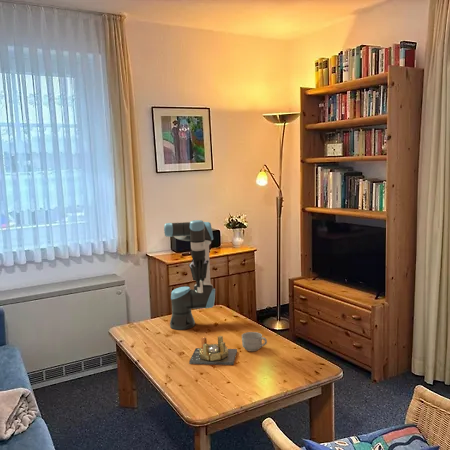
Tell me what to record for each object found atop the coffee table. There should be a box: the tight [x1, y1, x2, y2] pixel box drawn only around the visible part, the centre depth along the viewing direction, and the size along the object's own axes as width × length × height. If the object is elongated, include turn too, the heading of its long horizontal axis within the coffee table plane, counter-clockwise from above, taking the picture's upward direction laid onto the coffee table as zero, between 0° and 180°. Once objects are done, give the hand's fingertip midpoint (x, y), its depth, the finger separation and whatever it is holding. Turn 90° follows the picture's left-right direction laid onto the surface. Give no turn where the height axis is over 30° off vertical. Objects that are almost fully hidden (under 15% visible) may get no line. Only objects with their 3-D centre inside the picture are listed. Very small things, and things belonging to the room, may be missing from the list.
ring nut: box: [198, 335, 229, 361], centre depth 243 cm, size 14×14×8 cm
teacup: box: [241, 331, 268, 352], centre depth 251 cm, size 14×11×8 cm
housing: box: [188, 346, 238, 366], centre depth 244 cm, size 16×22×6 cm
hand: (200, 292), depth 258 cm, fingers closed
